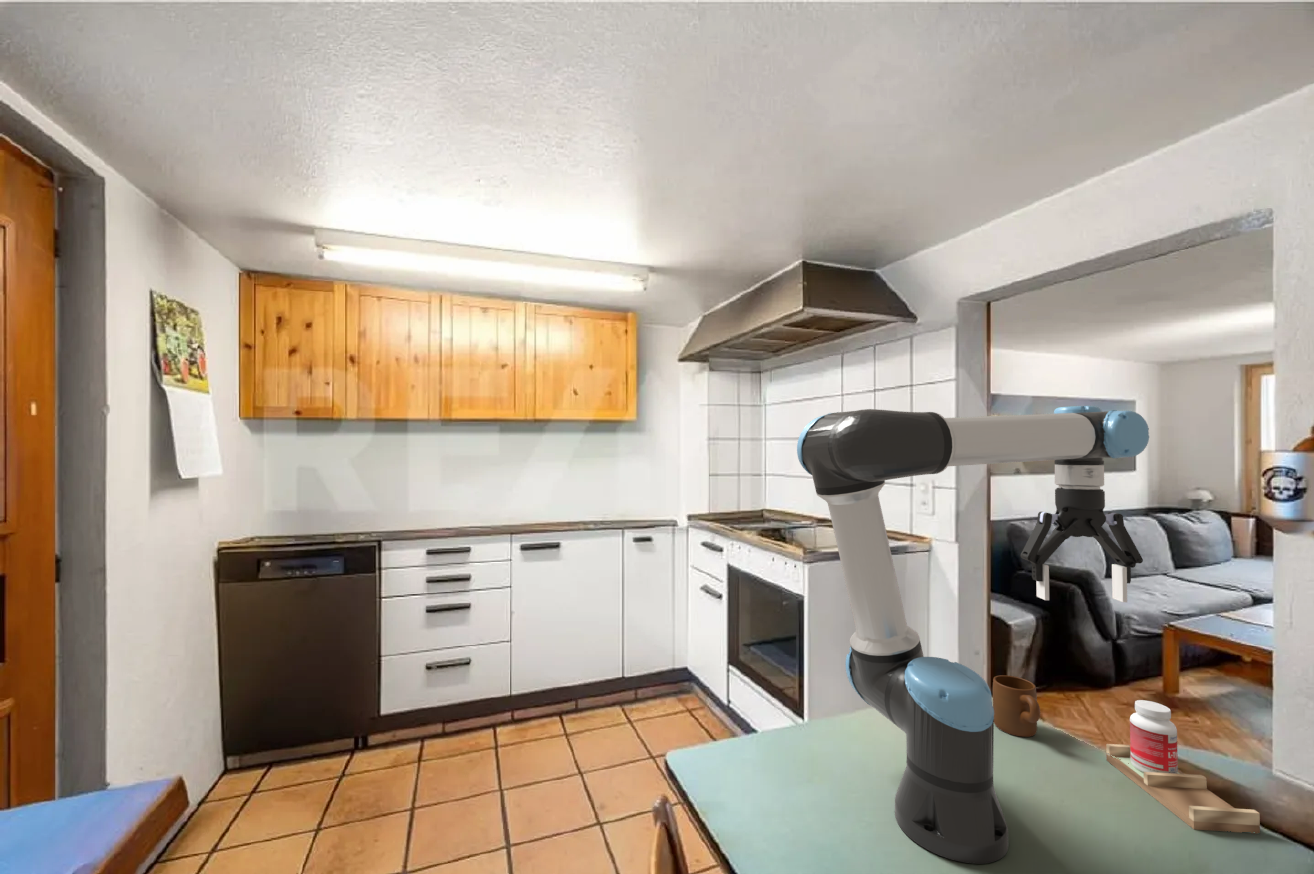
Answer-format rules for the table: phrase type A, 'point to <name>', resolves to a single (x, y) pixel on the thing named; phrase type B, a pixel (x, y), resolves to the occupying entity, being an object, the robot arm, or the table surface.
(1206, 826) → the notch board
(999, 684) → the mug
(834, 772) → the table surface
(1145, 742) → the pill bottle
